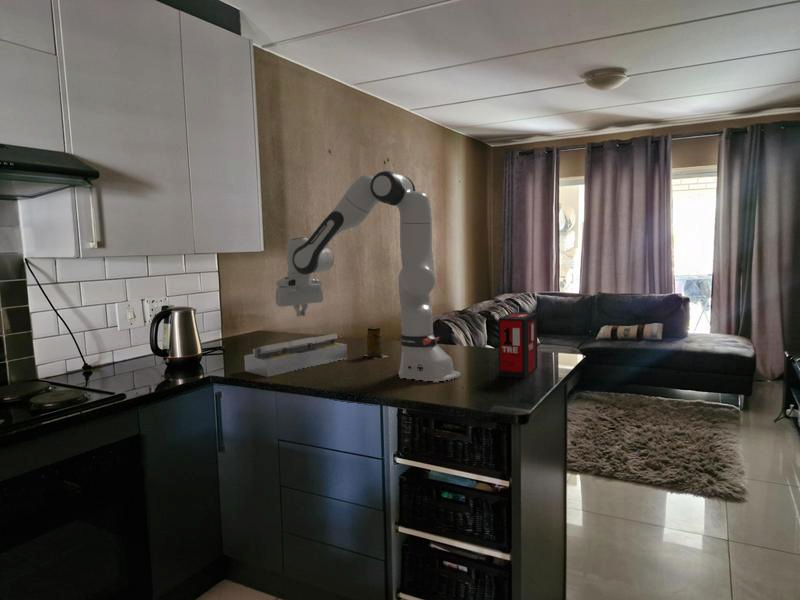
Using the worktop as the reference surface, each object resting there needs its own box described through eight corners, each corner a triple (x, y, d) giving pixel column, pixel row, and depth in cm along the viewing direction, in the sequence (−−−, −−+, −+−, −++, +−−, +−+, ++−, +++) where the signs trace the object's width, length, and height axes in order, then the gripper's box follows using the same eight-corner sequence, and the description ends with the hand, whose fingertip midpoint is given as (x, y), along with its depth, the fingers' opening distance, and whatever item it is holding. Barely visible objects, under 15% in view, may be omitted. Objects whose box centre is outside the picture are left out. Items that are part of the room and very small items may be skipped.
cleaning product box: (524, 378, 186) (524, 319, 184) (499, 375, 190) (498, 318, 188) (537, 367, 200) (537, 313, 198) (513, 366, 205) (513, 312, 203)
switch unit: (347, 358, 226) (346, 336, 225) (267, 376, 198) (266, 351, 198) (323, 354, 236) (322, 332, 235) (245, 371, 209) (243, 346, 208)
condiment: (376, 354, 234) (375, 326, 233) (388, 356, 228) (388, 328, 227) (362, 356, 230) (361, 328, 229) (374, 359, 223) (373, 330, 222)
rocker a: (338, 337, 226) (337, 332, 226) (318, 341, 218) (317, 336, 218) (324, 340, 232) (323, 335, 232) (304, 344, 224) (303, 339, 225)
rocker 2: (314, 341, 217) (313, 336, 217) (293, 345, 210) (292, 340, 210) (301, 345, 223) (300, 340, 223) (280, 349, 216) (279, 344, 216)
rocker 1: (289, 346, 208) (288, 341, 209) (266, 351, 201) (264, 345, 201) (276, 350, 215) (275, 344, 215) (253, 354, 207) (252, 349, 207)
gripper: (315, 278, 221) (317, 312, 223) (272, 281, 206) (274, 318, 208) (325, 278, 217) (327, 313, 218) (282, 282, 202) (284, 319, 204)
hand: (301, 316), depth 213 cm, fingers closed
